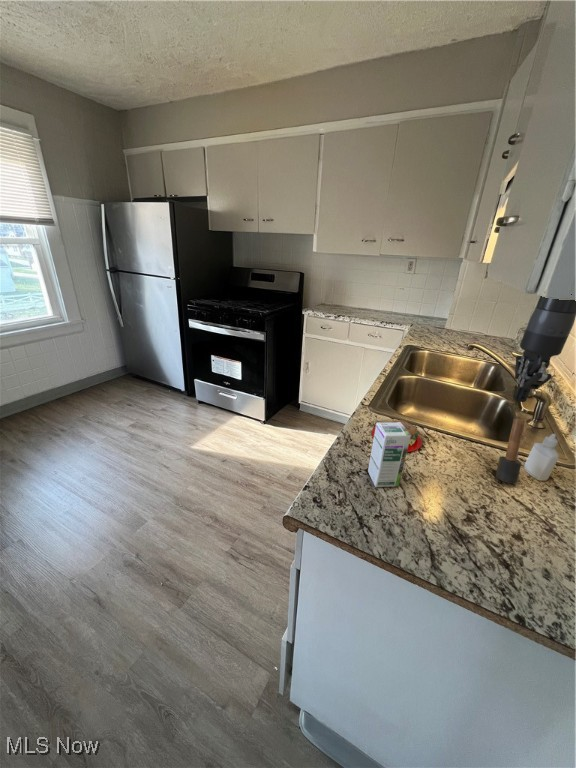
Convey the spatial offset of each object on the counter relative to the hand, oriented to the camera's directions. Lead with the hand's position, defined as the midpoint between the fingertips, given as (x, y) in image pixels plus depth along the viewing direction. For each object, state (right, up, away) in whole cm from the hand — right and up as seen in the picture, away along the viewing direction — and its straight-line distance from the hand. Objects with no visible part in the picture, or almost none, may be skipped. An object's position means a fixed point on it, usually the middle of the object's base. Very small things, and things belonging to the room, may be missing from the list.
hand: (518, 400), depth 76 cm
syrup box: (-33, -19, 0) cm, 38 cm away
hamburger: (-24, -12, +16) cm, 31 cm away
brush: (-3, -19, 0) cm, 19 cm away
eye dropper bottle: (+7, -19, +4) cm, 20 cm away
